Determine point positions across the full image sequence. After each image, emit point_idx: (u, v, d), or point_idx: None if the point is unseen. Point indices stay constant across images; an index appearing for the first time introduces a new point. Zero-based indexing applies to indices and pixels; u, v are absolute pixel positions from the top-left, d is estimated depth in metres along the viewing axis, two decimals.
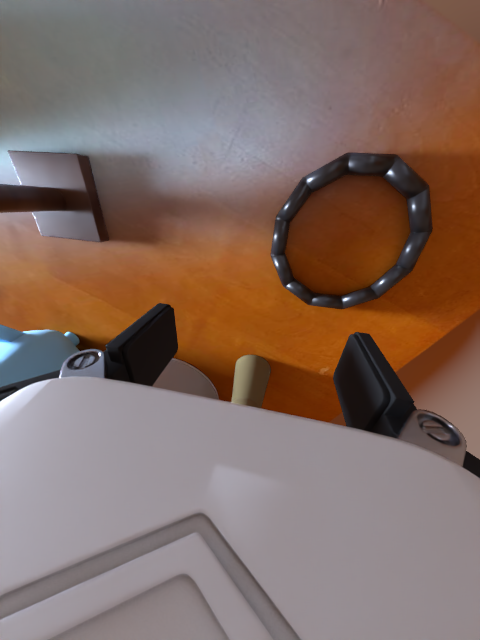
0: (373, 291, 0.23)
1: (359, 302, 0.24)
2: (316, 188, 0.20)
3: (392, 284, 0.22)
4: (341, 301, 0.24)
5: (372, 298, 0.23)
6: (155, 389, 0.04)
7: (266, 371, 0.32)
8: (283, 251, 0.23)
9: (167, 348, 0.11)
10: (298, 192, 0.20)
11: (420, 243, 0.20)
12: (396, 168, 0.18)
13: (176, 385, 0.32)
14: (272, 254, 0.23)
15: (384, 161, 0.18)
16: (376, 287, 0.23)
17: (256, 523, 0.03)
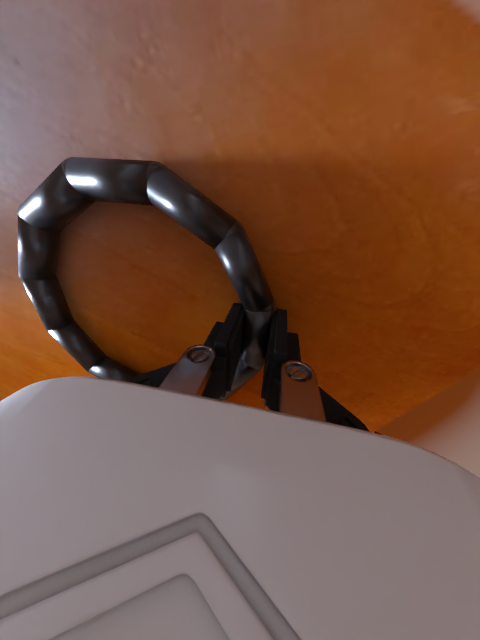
0: None
1: None
2: (48, 225, 0.10)
3: (237, 385, 0.13)
4: None
5: None
6: (155, 389, 0.04)
7: None
8: (58, 324, 0.13)
9: (240, 345, 0.11)
10: (19, 232, 0.10)
11: (256, 329, 0.10)
12: (160, 192, 0.08)
13: None
14: None
15: (128, 176, 0.08)
16: None
17: (256, 523, 0.03)
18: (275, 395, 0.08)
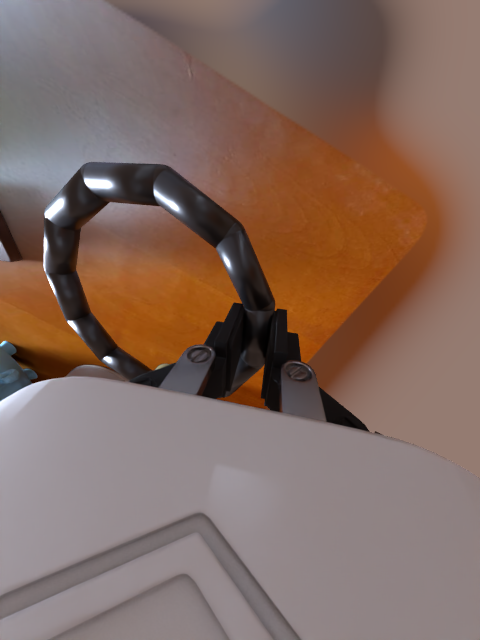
0: None
1: None
2: (69, 224, 0.11)
3: (236, 383, 0.13)
4: None
5: None
6: (155, 389, 0.04)
7: None
8: (76, 315, 0.15)
9: (240, 345, 0.11)
10: (45, 230, 0.11)
11: (254, 328, 0.11)
12: (166, 193, 0.09)
13: None
14: None
15: (137, 179, 0.09)
16: None
17: (256, 523, 0.03)
18: (275, 395, 0.08)
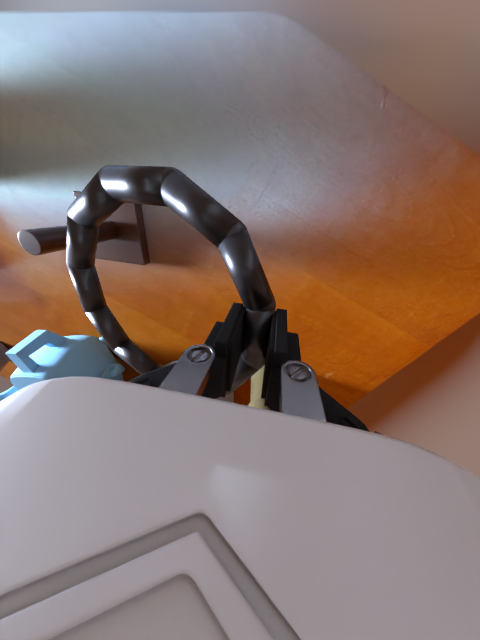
0: None
1: None
2: (88, 223, 0.12)
3: (236, 381, 0.13)
4: None
5: None
6: (155, 389, 0.04)
7: None
8: (93, 307, 0.16)
9: (240, 345, 0.11)
10: (67, 228, 0.12)
11: (254, 328, 0.11)
12: (172, 194, 0.09)
13: None
14: None
15: (147, 181, 0.09)
16: None
17: (256, 523, 0.03)
18: (275, 395, 0.08)
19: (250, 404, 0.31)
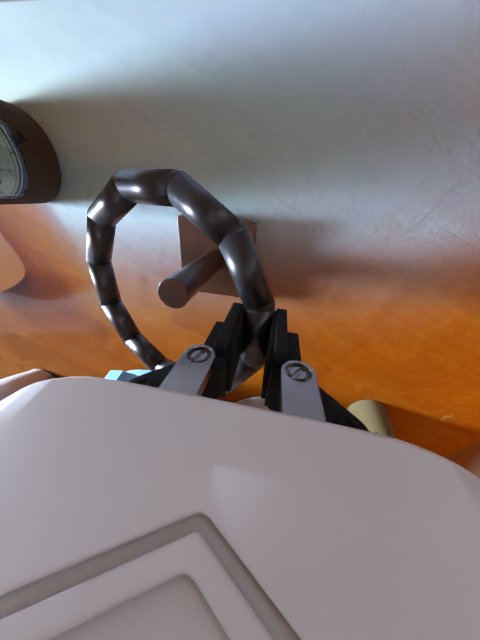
0: None
1: None
2: (105, 222, 0.13)
3: (235, 380, 0.13)
4: None
5: None
6: (155, 389, 0.04)
7: None
8: (108, 301, 0.17)
9: (240, 345, 0.11)
10: (87, 227, 0.14)
11: (252, 328, 0.11)
12: (177, 195, 0.10)
13: None
14: None
15: (154, 182, 0.10)
16: None
17: (256, 523, 0.03)
18: (275, 395, 0.08)
19: None
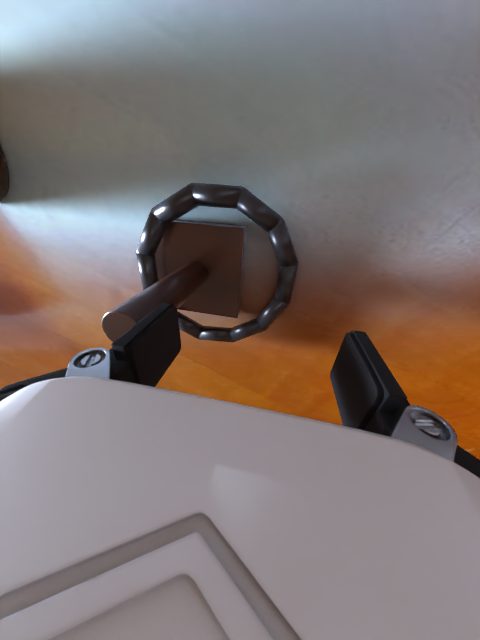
0: (257, 324, 0.22)
1: (247, 335, 0.22)
2: (168, 220, 0.17)
3: (273, 317, 0.21)
4: (229, 335, 0.23)
5: (258, 331, 0.22)
6: (155, 389, 0.04)
7: None
8: None
9: (171, 347, 0.11)
10: (149, 224, 0.17)
11: (288, 277, 0.19)
12: (244, 201, 0.16)
13: None
14: (143, 289, 0.20)
15: (229, 194, 0.16)
16: (260, 320, 0.22)
17: (256, 523, 0.03)
18: None
19: None
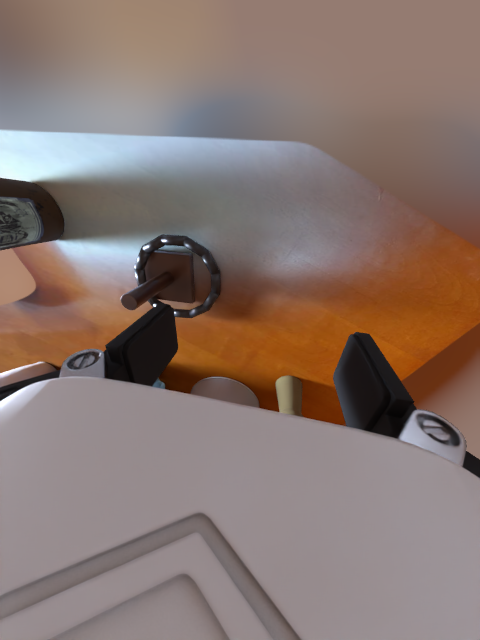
0: (203, 306, 0.38)
1: (198, 313, 0.39)
2: (150, 252, 0.34)
3: (211, 302, 0.38)
4: (188, 313, 0.39)
5: (204, 310, 0.39)
6: (155, 389, 0.04)
7: (300, 388, 0.44)
8: None
9: (167, 348, 0.11)
10: (140, 254, 0.34)
11: (215, 280, 0.36)
12: (187, 243, 0.33)
13: (235, 399, 0.44)
14: None
15: (179, 240, 0.33)
16: (204, 304, 0.38)
17: (256, 523, 0.03)
18: None
19: None
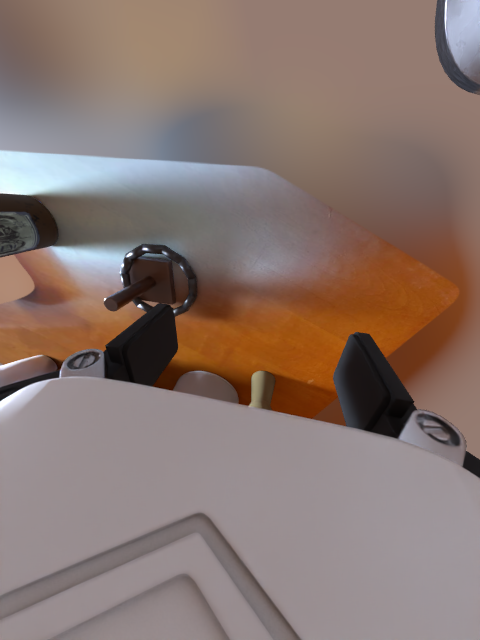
0: (182, 307, 0.43)
1: (178, 313, 0.43)
2: (133, 259, 0.38)
3: (189, 303, 0.42)
4: None
5: (183, 311, 0.43)
6: (155, 389, 0.04)
7: (272, 382, 0.48)
8: None
9: (167, 348, 0.11)
10: (124, 261, 0.38)
11: (191, 284, 0.40)
12: (165, 252, 0.37)
13: (213, 391, 0.49)
14: None
15: (158, 249, 0.37)
16: (183, 305, 0.43)
17: (256, 523, 0.03)
18: None
19: (251, 404, 0.43)
